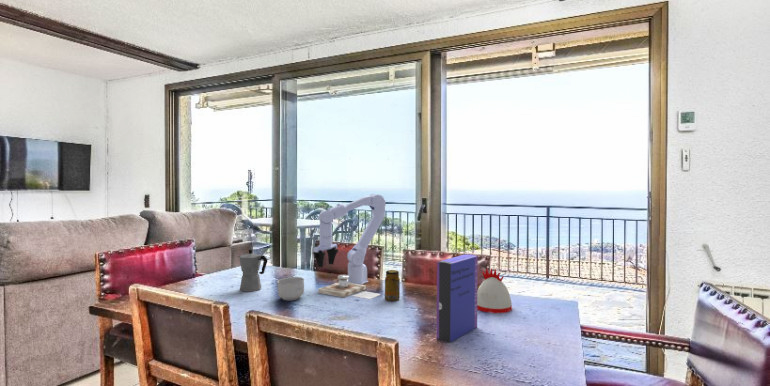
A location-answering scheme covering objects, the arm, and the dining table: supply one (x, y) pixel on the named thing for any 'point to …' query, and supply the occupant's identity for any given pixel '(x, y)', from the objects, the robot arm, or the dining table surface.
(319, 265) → the robot arm
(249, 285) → the coffeepot
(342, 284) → the knob
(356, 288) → the hole plate
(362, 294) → the tab
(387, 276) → the condiment
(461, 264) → the blue book
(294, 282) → the teacup
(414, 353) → the dining table surface
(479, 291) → the beige rounded dome
